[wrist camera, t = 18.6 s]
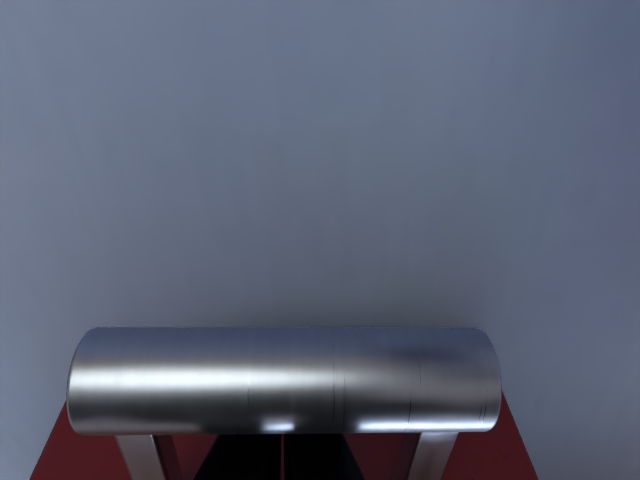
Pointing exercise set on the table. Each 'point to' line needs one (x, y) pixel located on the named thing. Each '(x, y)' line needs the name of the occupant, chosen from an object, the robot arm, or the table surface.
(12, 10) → the table surface
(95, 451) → the red drawer front handle
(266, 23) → the table surface
